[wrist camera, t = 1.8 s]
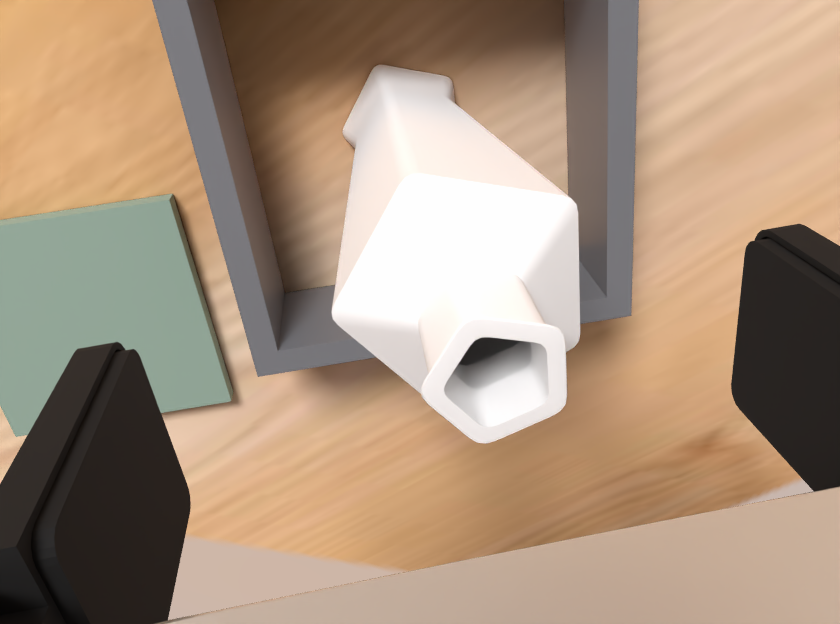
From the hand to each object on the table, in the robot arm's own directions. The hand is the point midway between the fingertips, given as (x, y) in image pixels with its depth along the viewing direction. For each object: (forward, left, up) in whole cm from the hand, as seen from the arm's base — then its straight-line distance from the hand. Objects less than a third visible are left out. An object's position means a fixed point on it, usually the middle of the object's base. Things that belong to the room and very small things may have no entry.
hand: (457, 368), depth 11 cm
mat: (+11, +5, -14) cm, 19 cm away
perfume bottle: (-1, 0, -14) cm, 14 cm away
